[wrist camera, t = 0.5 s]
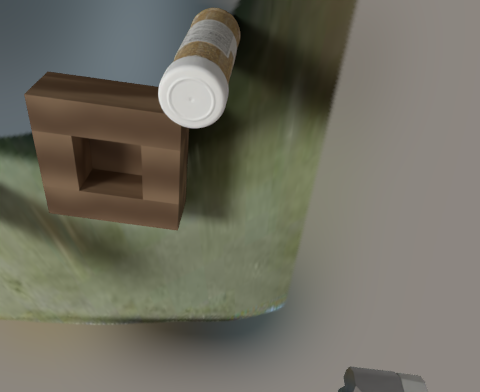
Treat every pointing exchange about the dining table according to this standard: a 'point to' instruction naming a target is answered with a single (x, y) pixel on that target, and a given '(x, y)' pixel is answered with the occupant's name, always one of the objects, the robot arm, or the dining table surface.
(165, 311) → the dining table surface
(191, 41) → the sprinkles bottle
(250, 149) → the dining table surface
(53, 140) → the walnut socket block
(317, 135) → the dining table surface
